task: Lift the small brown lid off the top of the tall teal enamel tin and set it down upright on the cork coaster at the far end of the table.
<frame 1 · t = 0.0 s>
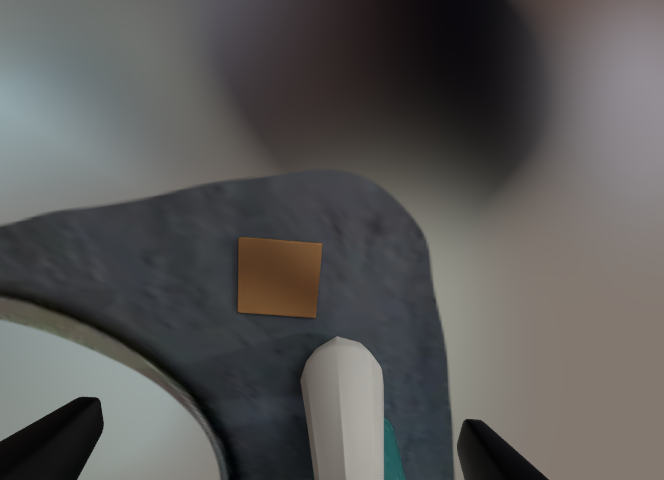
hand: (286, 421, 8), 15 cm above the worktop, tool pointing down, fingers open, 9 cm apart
tin: (354, 440, 27), on the worktop, touching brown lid
salt shaker: (340, 357, 25), on the worktop
coaster: (279, 277, 23), on the worktop
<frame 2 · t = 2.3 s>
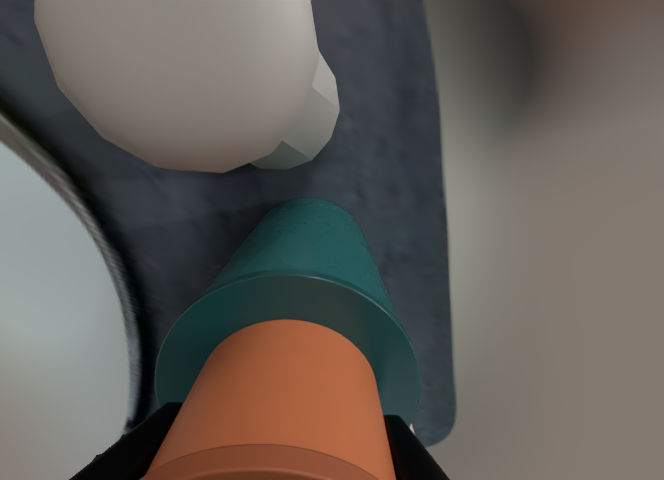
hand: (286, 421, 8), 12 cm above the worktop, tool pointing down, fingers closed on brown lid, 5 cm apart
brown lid: (288, 396, 9), point 11 cm above the worktop, touching gripper, tin
tin: (308, 255, 19), on the worktop, touching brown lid
salt shaker: (281, 109, 17), on the worktop
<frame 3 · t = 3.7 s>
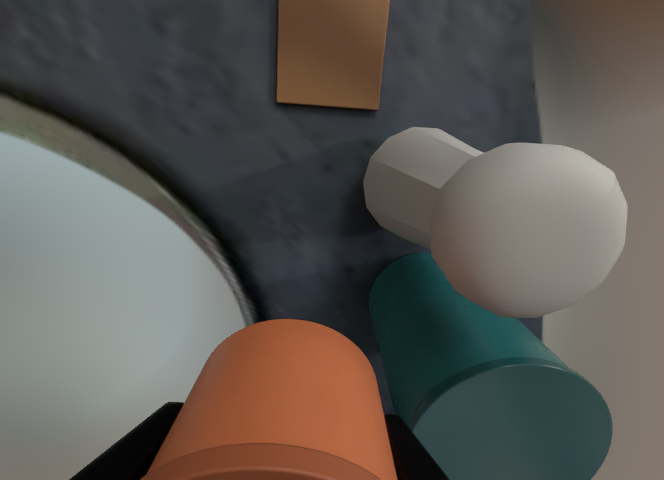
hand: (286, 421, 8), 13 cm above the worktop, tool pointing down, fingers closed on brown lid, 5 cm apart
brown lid: (289, 395, 9), point 12 cm above the worktop, touching gripper
tin: (419, 301, 22), on the worktop
salt shaker: (406, 179, 20), on the worktop
coaster: (331, 50, 17), on the worktop
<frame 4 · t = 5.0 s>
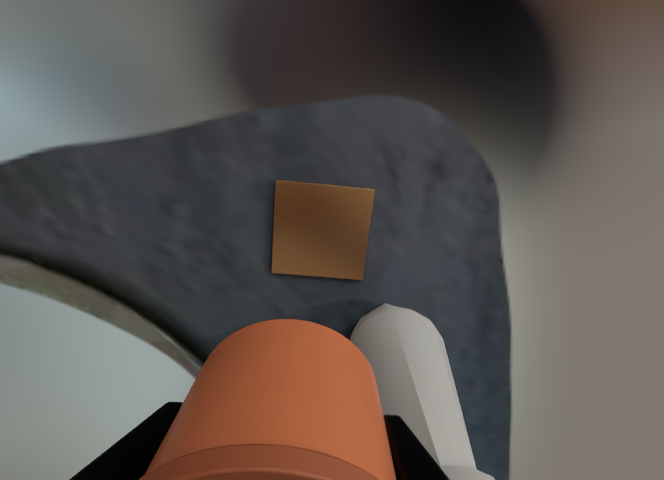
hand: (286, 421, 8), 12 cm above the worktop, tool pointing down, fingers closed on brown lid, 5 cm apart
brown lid: (288, 396, 9), point 11 cm above the worktop, touching gripper
salt shaker: (387, 329, 22), on the worktop
coaster: (321, 231, 19), on the worktop
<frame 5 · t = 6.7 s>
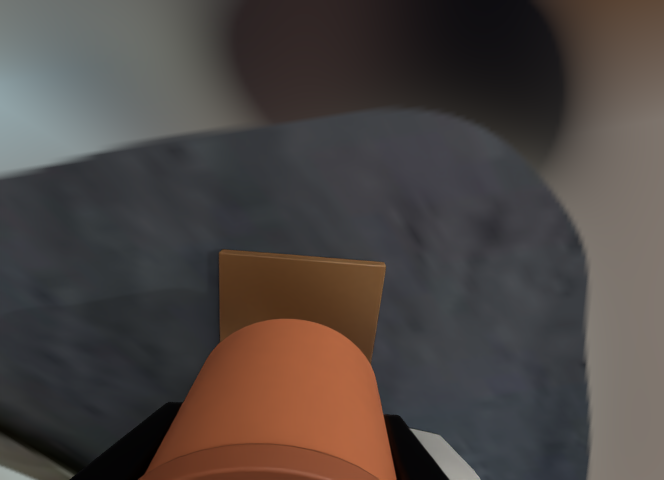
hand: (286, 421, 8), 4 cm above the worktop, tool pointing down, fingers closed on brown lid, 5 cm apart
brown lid: (288, 395, 9), point 3 cm above the worktop, touching gripper
salt shaker: (402, 458, 14), on the worktop
coaster: (299, 325, 12), on the worktop
when the fingers open (1 cm above the worktop, at t = 8.0 s): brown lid stays where it is, resting on coaster.
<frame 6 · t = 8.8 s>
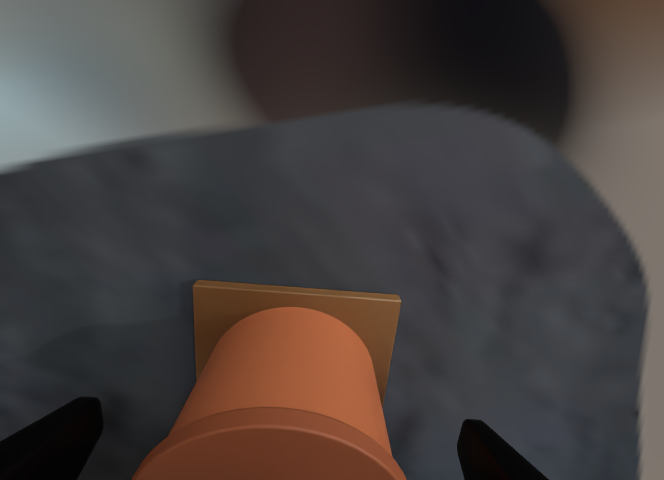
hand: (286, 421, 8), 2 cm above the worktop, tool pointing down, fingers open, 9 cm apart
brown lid: (292, 379, 9), resting on coaster
coaster: (293, 370, 10), on the worktop
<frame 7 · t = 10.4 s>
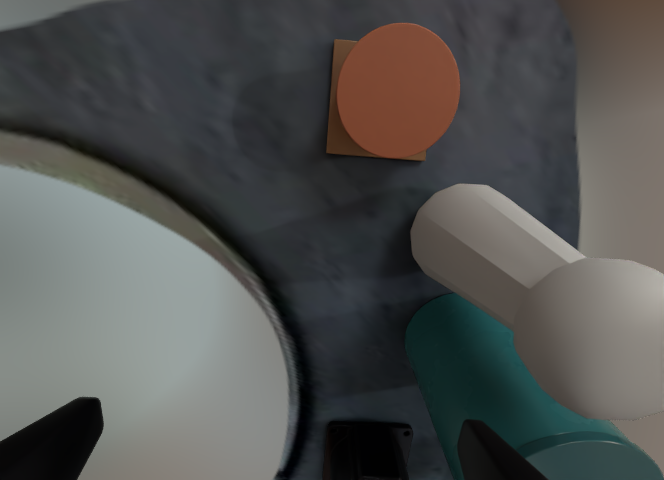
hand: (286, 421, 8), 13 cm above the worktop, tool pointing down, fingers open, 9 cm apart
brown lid: (382, 103, 17), resting on coaster
tin: (454, 337, 22), on the worktop
salt shaker: (446, 224, 20), on the worktop
coaster: (380, 104, 18), on the worktop
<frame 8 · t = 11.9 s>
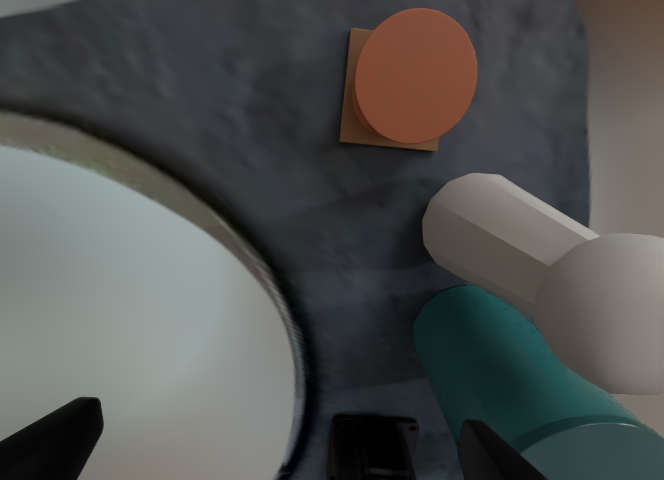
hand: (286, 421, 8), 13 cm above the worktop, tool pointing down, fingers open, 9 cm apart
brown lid: (396, 92, 17), resting on coaster
tin: (462, 330, 22), on the worktop
salt shaker: (457, 215, 20), on the worktop
coaster: (394, 93, 18), on the worktop
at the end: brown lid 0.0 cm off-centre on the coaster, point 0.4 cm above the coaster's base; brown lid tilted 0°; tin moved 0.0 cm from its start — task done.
